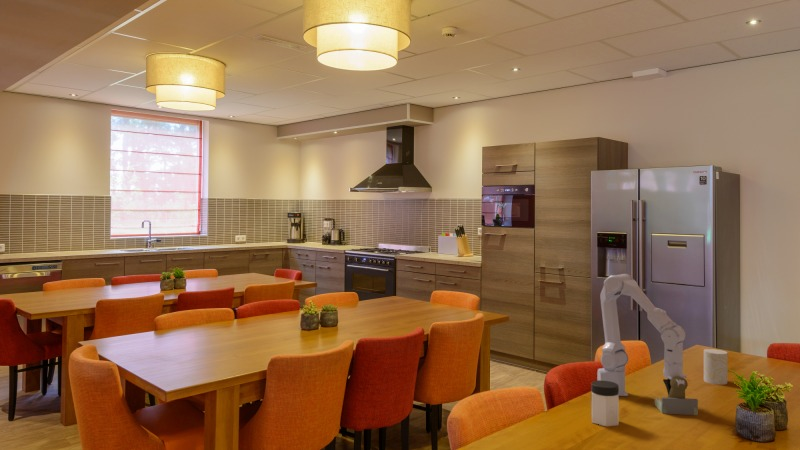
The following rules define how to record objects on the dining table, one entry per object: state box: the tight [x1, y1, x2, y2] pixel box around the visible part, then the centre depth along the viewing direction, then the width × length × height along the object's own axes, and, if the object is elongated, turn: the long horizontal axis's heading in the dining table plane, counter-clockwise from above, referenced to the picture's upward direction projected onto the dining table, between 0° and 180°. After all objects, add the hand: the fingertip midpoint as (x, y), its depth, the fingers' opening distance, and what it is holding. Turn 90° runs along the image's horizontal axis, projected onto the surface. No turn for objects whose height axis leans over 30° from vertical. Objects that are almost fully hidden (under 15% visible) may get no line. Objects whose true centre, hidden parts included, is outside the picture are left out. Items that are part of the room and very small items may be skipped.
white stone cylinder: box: [703, 348, 728, 386], centre depth 217 cm, size 8×8×12 cm
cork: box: [667, 376, 689, 398], centre depth 183 cm, size 6×6×11 cm
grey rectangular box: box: [654, 396, 699, 416], centre depth 184 cm, size 11×8×5 cm
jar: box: [590, 380, 620, 427], centre depth 173 cm, size 9×8×12 cm
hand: (673, 401), depth 186 cm, fingers closed, pressing on cork
